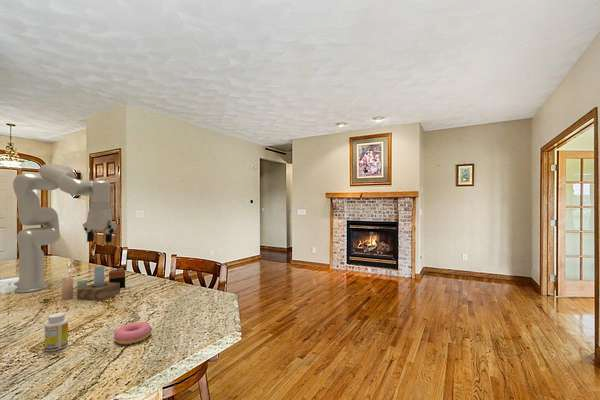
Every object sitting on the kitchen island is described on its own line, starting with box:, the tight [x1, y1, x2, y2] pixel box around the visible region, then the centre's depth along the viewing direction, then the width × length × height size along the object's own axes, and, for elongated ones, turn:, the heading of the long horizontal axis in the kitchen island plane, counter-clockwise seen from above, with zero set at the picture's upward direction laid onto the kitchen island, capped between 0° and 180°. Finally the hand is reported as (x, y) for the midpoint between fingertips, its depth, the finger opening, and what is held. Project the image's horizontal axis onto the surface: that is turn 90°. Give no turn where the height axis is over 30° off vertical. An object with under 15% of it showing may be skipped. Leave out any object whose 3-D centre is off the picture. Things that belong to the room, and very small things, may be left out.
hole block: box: [76, 281, 121, 302], centre depth 141 cm, size 12×12×5 cm
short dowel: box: [76, 279, 88, 290], centre depth 145 cm, size 4×4×6 cm
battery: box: [108, 267, 126, 289], centre depth 155 cm, size 4×7×10 cm, turn 133°
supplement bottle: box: [44, 312, 69, 352], centre depth 91 cm, size 6×6×10 cm
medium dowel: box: [61, 277, 74, 301], centre depth 137 cm, size 4×4×9 cm
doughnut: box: [113, 321, 152, 345], centre depth 97 cm, size 11×11×4 cm
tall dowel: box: [93, 265, 105, 288], centre depth 141 cm, size 4×4×14 cm
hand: (99, 241), depth 141 cm, fingers open, 9 cm apart
